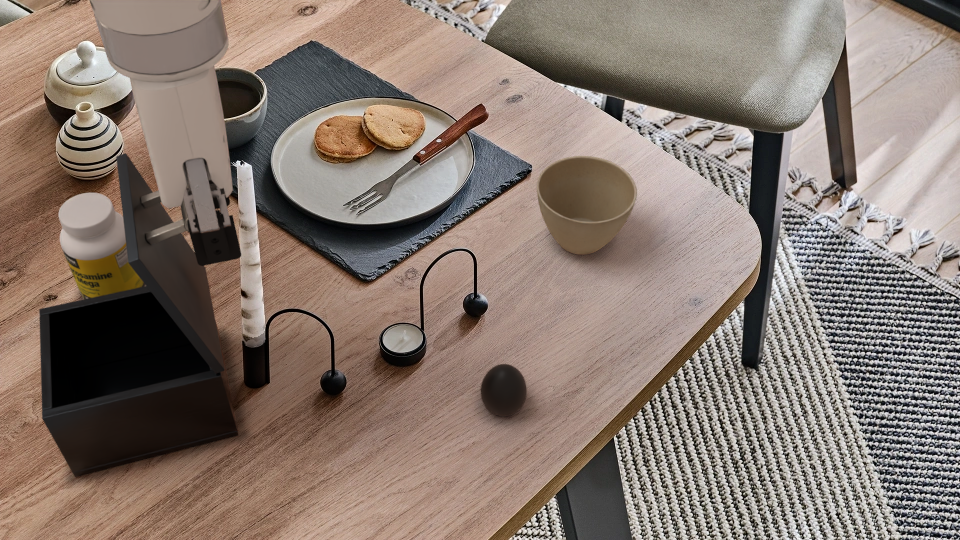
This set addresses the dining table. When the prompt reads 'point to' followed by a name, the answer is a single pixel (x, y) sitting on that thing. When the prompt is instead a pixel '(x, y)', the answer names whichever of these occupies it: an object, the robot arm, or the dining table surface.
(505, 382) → the egg
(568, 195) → the tan bowl
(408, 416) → the dining table surface
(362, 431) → the dining table surface
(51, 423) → the compartment
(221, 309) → the dining table surface
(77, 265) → the pill bottle
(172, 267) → the lid
